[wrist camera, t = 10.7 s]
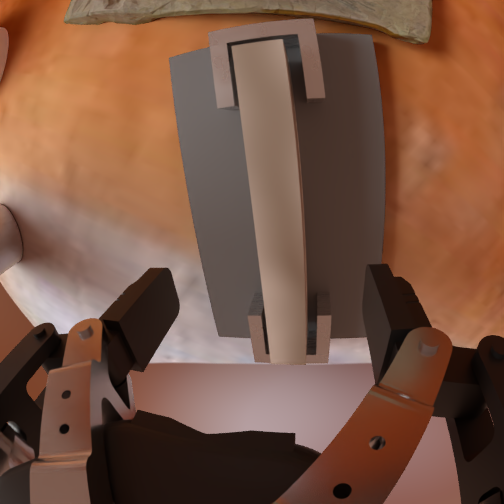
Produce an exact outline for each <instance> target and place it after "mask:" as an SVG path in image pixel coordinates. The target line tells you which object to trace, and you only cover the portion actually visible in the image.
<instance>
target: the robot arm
mask: <svg viewBox="0 0 504 504" xmlns="http://www.w3.org/2000/svg"><path fill="white" fill-rule="evenodd" d="M22 252H23V249H22V241H21V236H20V232H19V229H18V226H17V224H16V222H15V219H14V218H13V216H12V214H11V213H10V211H9V210H8V209H7V208H6V207H5V206H4V205H2V204H0V275H1V274H2V273H4V272H5V271H6V270H8V269H9V268H11V267H12V266H13V265H15V264H16V263H18V262H19V261H20V260H21V258H22ZM179 307H180V305H179V299H178V296H177V292H176V288H175V285H174V281H173V278H172V274H171V271H170V270H169V269H168V268H149V269H148V270H147V271H146V272H145V273H144V274H143V275H142V276H141V277H140V279H139V280H138V281H136V282H135V283H133V284H131V285H130V286H129V287H128V288H127V289H126V290H125V291H124V292H123V294H122V295H120V296H119V297H118V298H117V301H115V302H114V303H113V304H112V305H111V306H110V307H109V308H108V309H107V310H106V312H105V313H104V314H103V315H102V316H101V317H100V318H99V319H95V318H90V319H86V320H83V321H81V322H79V323H77V324H76V325H75V326H73V327H72V328H71V330H70V331H69V333H68V334H58V332H57V330H56V328H55V327H54V325H53V324H52V323H43V324H40V325H38V326H37V327H35V328H34V329H32V330H31V331H30V332H29V333H28V334H27V335H26V336H25V337H24V338H23V339H22V340H21V342H20V343H19V344H18V345H17V346H16V347H15V348H14V349H13V350H12V351H11V352H10V353H9V354H8V355H7V357H6V358H5V359H4V360H3V361H2V362H1V363H0V504H383V503H384V502H385V500H386V499H387V497H388V496H389V494H390V493H391V491H392V489H393V488H394V486H395V485H396V483H397V482H398V480H399V478H400V477H401V475H402V473H403V472H404V470H405V468H406V466H407V465H408V463H409V461H410V459H411V458H412V456H413V454H414V452H415V450H416V448H417V446H418V444H419V442H420V440H421V438H422V436H423V434H424V432H425V430H426V427H427V425H428V423H429V421H430V418H431V416H436V417H445V418H446V422H447V426H448V430H449V434H450V438H451V443H452V448H453V452H454V457H455V463H456V468H457V474H458V481H459V487H460V495H461V504H504V338H503V337H500V336H496V335H490V336H486V337H484V338H483V339H482V340H481V341H480V342H479V345H478V347H477V349H471V348H462V347H456V346H452V342H451V340H450V338H449V337H448V336H447V335H446V334H445V333H444V332H442V331H440V330H438V329H436V328H432V326H431V324H430V322H429V320H428V318H427V316H426V314H425V312H424V310H423V308H422V306H421V304H420V303H419V300H418V298H417V296H416V295H415V292H414V290H413V288H412V286H411V284H410V283H408V282H407V281H406V280H405V279H403V278H402V277H394V276H393V274H392V272H391V270H390V268H389V266H388V264H367V266H366V271H365V282H364V292H363V301H362V314H363V321H364V325H365V330H366V335H367V340H368V345H369V350H370V355H371V361H372V366H373V372H374V378H375V385H374V386H373V387H372V388H371V389H370V391H369V392H368V394H367V395H366V396H365V398H364V399H363V401H362V402H361V404H360V405H359V406H358V408H357V409H356V411H355V412H354V413H353V415H352V416H351V418H350V419H349V420H348V422H347V423H346V424H345V426H344V427H343V428H342V429H341V431H340V432H339V433H338V434H337V436H336V437H335V438H334V440H333V441H332V442H331V443H330V444H329V446H328V447H327V448H326V449H325V450H324V451H323V453H322V454H321V453H319V452H317V451H315V450H313V449H310V448H308V447H305V446H301V445H298V444H295V433H278V432H263V431H243V432H232V433H219V434H205V433H202V432H199V431H197V430H195V429H193V428H191V427H188V426H186V425H184V424H182V423H180V422H178V421H176V420H174V419H172V418H169V417H165V416H161V415H156V414H152V413H148V412H145V411H141V410H137V412H136V410H135V403H134V397H133V390H132V383H131V378H130V376H129V375H128V373H129V371H130V370H135V371H140V372H144V370H145V368H146V366H147V365H148V363H149V362H150V360H151V358H152V357H153V355H154V353H155V352H156V350H157V348H158V347H159V345H160V343H161V342H162V340H163V338H164V337H165V335H166V334H167V332H168V330H169V329H170V327H171V325H172V324H173V322H174V321H175V319H176V317H177V316H178V313H179ZM41 365H42V367H43V368H44V370H45V371H46V372H47V374H48V380H47V386H46V387H45V388H44V390H43V391H42V392H41V394H40V395H39V396H38V398H37V399H36V400H35V401H33V400H32V398H31V397H30V396H29V395H28V393H27V390H26V385H27V382H28V381H29V379H30V378H31V377H32V376H33V375H34V373H35V372H36V371H37V370H38V369H39V367H40V366H41ZM488 409H489V411H488ZM489 412H490V413H489ZM490 414H491V416H490ZM491 417H492V419H491ZM492 420H493V422H492ZM6 422H8V423H9V425H8V424H7V423H6ZM493 423H494V425H493Z"/></svg>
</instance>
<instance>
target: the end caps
mask: <svg viewBox="0 0 504 504" xmlns="http://www.w3.org/2000/svg"><path fill="white" fill-rule="evenodd" d="M208 36H209V45H210V53H211V61H212V70H213V78H214V86H215V93H216V101H217V109H224V110H238V109H240V107H239V100H238V92H237V84H236V77H235V69H234V62H233V54H232V47H231V46H235V45H241V44H247V43H254V42H261V41H269V40H278V39H283V43H284V46H285V48H296V47H299V49H300V56H301V62H302V69H303V77H304V84H305V92H306V101H307V103H315V102H323V100H324V99H325V90H324V82H323V75H322V67H321V61H320V54H319V48H318V42H317V36H316V30H315V25H314V20H313V19H293V20H281V21H271V22H263V23H256V24H249V25H243V26H237V27H232V28H226V29H222V30H217V31H212V32H208ZM247 316H248V322H249V329H250V335H251V341H252V347H253V353H254V359H255V362H264V363H271V360H270V352H269V343H268V335H267V326H266V318H265V309H264V301H263V293H254V296H253V300H252V303H251V306H250V309H249V312H248V315H247ZM330 332H331V303H330V292H317V328H316V331H307V351H306V363H328V358H329V346H330Z"/></svg>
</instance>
